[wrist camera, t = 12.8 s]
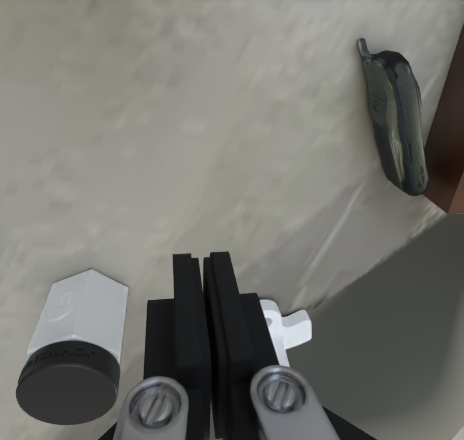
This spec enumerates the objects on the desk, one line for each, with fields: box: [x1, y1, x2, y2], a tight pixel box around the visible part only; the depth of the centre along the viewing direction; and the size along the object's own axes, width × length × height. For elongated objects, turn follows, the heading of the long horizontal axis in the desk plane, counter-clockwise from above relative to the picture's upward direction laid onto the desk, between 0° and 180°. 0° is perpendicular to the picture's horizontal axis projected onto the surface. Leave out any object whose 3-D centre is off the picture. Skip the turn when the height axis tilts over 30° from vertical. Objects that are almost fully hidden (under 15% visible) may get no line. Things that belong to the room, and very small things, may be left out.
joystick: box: [260, 299, 311, 367], centre depth 40 cm, size 11×8×20 cm
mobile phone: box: [357, 38, 430, 196], centre depth 35 cm, size 5×3×15 cm
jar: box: [16, 269, 128, 425], centre depth 37 cm, size 9×8×12 cm
